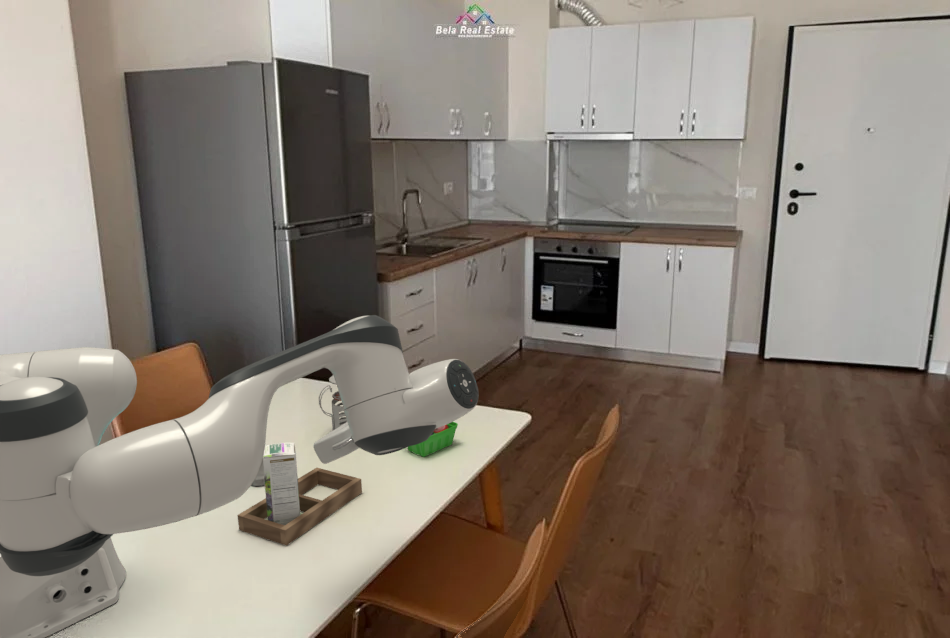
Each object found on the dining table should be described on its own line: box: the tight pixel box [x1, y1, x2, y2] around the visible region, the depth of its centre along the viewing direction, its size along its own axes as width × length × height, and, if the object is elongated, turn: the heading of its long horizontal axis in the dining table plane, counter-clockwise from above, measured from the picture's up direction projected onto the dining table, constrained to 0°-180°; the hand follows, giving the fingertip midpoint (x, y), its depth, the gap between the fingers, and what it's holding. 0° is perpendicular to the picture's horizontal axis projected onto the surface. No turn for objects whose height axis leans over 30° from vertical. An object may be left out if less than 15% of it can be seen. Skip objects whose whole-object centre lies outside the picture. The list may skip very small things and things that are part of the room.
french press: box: [318, 374, 347, 432], centre depth 169 cm, size 10×12×25 cm
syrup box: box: [263, 442, 301, 525], centre depth 130 cm, size 6×6×14 cm
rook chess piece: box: [251, 459, 265, 487], centre depth 147 cm, size 4×4×8 cm
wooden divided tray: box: [237, 467, 363, 547], centre depth 136 cm, size 21×11×3 cm, turn 151°
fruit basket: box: [407, 421, 459, 458], centre depth 162 cm, size 11×9×11 cm
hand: (345, 432), depth 117 cm, fingers open, 8 cm apart
